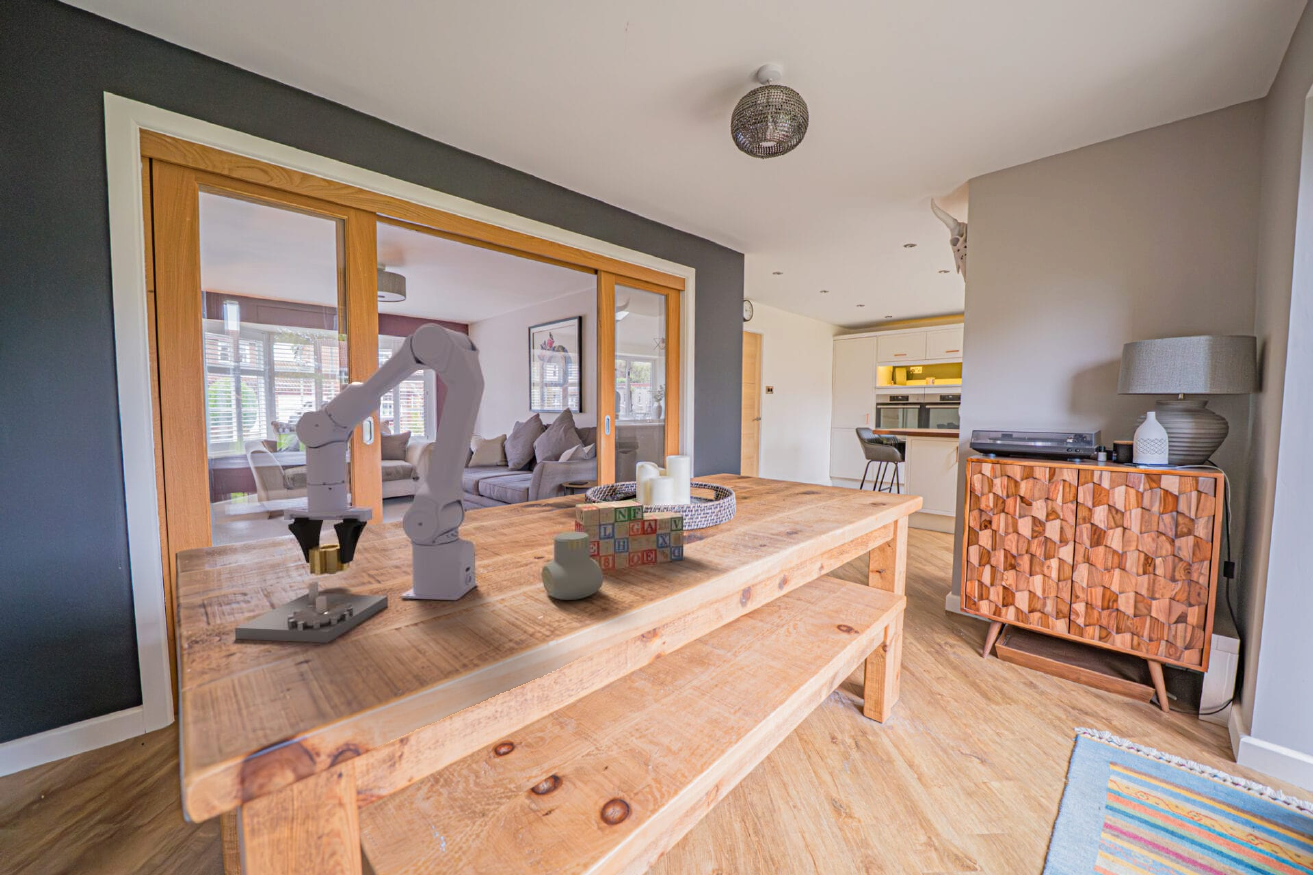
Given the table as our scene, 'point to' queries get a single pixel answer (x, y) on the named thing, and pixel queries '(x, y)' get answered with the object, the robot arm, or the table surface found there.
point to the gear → (320, 616)
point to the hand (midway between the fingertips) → (329, 561)
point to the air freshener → (572, 568)
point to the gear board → (277, 621)
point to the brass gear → (326, 559)
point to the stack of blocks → (630, 534)
